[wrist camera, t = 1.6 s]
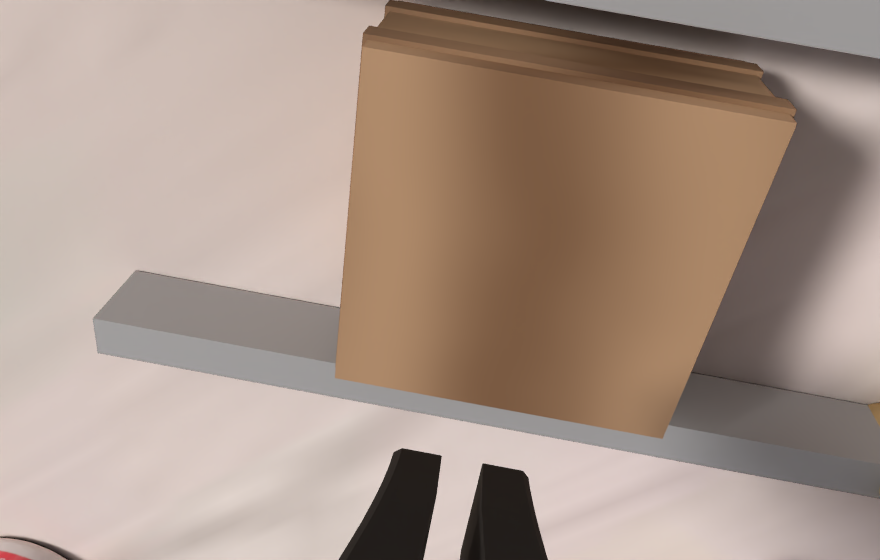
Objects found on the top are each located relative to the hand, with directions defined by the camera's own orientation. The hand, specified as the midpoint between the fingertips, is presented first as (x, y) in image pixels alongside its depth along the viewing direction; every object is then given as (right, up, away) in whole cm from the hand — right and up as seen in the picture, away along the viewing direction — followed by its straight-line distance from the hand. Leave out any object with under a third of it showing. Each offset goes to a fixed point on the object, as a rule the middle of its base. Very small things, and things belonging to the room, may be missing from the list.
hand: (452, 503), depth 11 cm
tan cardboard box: (+2, +6, +8) cm, 10 cm away
